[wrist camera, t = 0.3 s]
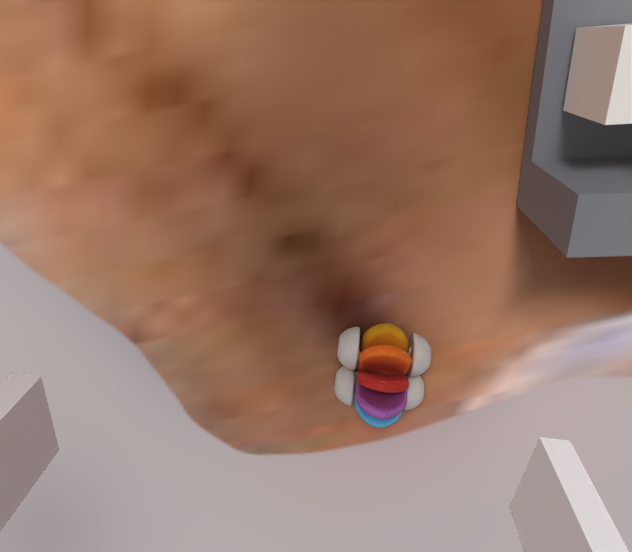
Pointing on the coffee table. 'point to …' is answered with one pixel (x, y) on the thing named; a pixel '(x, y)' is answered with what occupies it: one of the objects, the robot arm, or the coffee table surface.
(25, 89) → the coffee table surface
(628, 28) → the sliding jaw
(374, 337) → the rainbow disc rattle
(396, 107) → the coffee table surface
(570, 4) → the bench clamp
